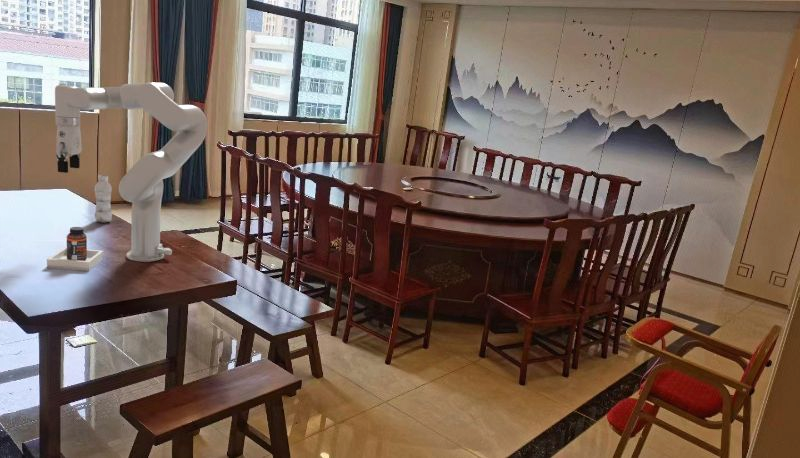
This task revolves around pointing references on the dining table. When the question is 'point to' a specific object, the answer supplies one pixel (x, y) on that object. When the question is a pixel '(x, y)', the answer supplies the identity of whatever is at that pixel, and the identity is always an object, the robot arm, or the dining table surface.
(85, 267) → the tray
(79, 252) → the supplement bottle
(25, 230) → the dining table surface
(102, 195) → the plastic bottle
